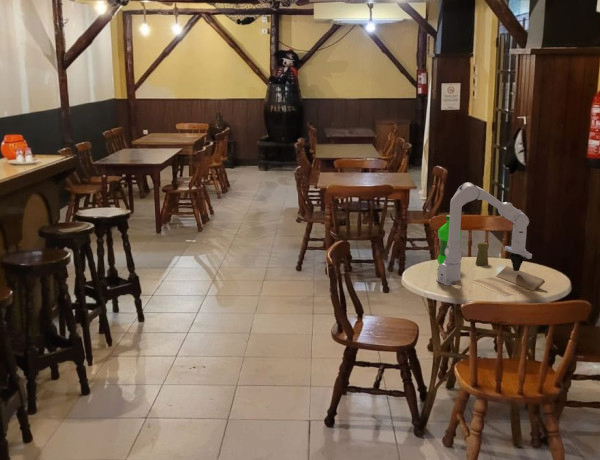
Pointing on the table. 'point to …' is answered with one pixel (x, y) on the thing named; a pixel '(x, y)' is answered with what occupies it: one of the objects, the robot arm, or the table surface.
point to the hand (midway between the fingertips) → (516, 270)
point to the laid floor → (498, 287)
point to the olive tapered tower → (482, 254)
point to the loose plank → (521, 278)
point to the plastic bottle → (444, 240)
